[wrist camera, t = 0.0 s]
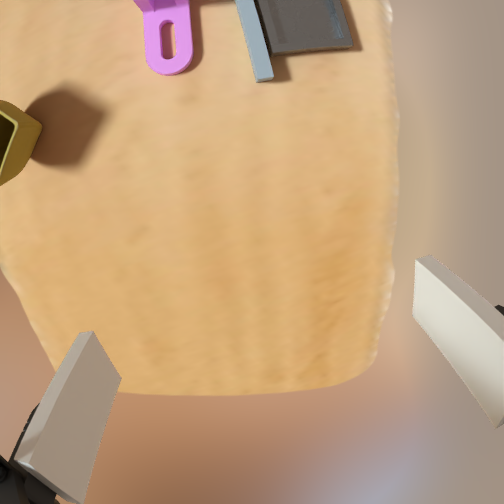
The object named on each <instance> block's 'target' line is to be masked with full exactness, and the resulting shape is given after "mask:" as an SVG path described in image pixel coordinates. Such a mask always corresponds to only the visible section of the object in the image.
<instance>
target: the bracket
mask: <svg viewBox="0 0 504 504" xmlns="http://www.w3.org/2000/svg"><path fill="white" fill-rule="evenodd" d="M134 2H135V3H136V5H137V6H138V7H139V8H140V9H141V11H142V12H143V17H144V38H145V54H146V61H147V64H148V66H149V67H150V68H151V69H152V70H153V71H155V72H156V73H158V74H161V75H166V76H170V75H175V74H178V73H180V72H182V71H183V70H185V69H186V68H187V67H188V66H189V64H190V63H191V61H192V58H193V53H194V52H193V40H192V28H191V16H190V3H189V0H134ZM166 23H173V24H174V27H175V40H176V55H175V56H174V57H173V58H172V59H164V58H163V48H162V34H161V29H162V27H163V25H165V24H166Z"/></svg>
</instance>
